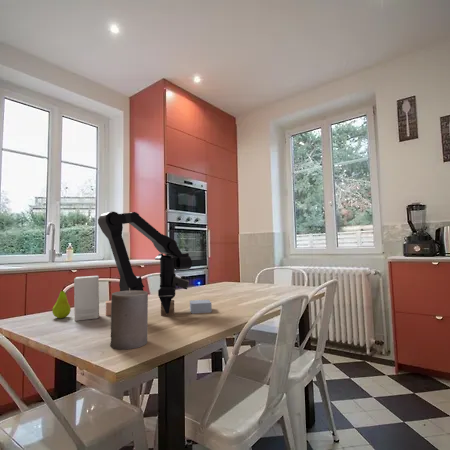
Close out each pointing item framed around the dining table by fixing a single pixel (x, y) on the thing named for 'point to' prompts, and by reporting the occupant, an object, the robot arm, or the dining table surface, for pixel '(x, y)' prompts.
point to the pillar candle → (129, 319)
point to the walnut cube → (171, 310)
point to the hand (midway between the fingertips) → (167, 311)
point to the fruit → (61, 306)
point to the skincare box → (86, 297)
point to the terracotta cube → (108, 308)
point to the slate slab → (200, 306)
